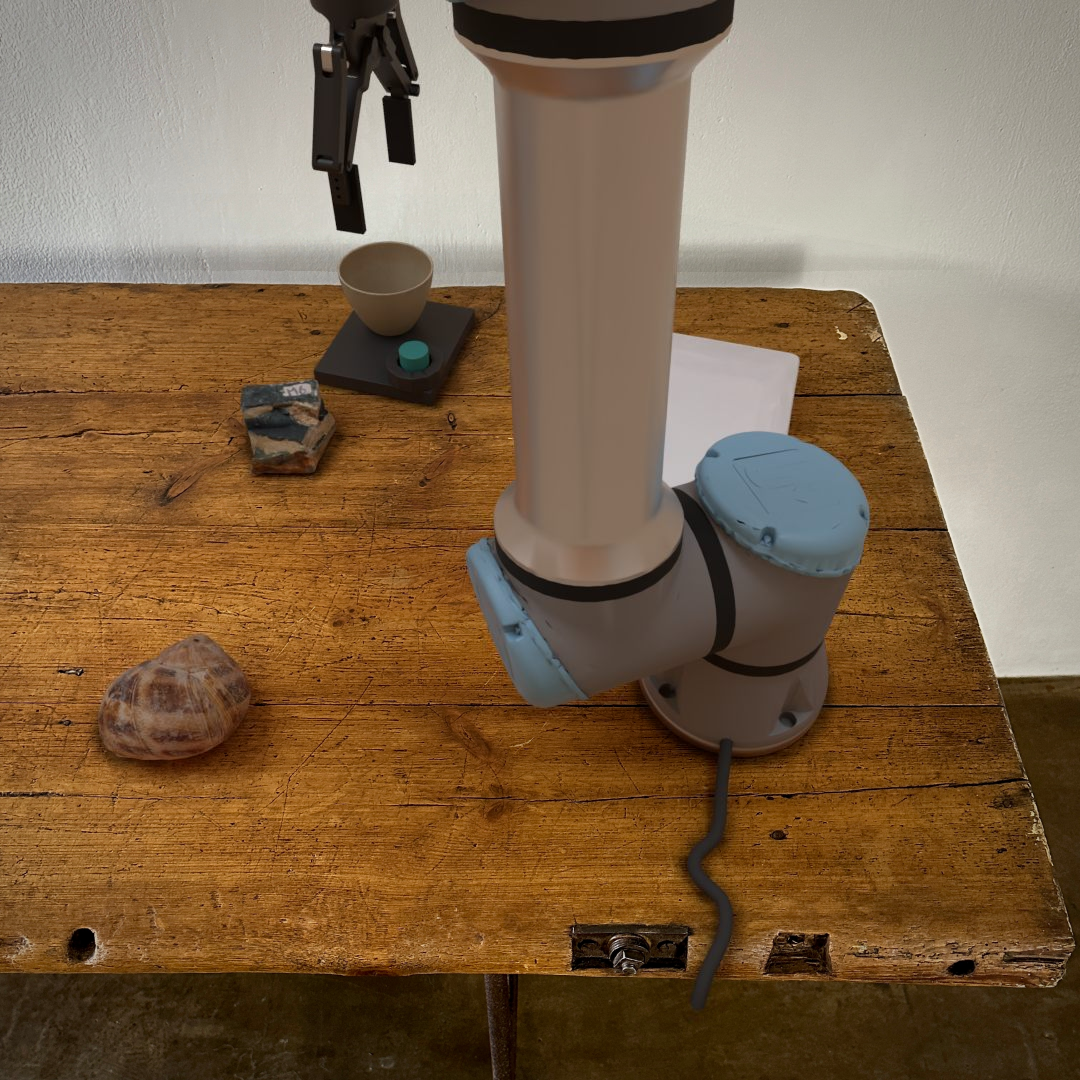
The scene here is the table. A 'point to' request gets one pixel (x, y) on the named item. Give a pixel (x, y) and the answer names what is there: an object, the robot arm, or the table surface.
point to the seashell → (175, 702)
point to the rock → (286, 426)
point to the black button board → (396, 355)
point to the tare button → (414, 356)
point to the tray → (722, 398)
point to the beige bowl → (387, 284)
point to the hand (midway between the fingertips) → (378, 195)
